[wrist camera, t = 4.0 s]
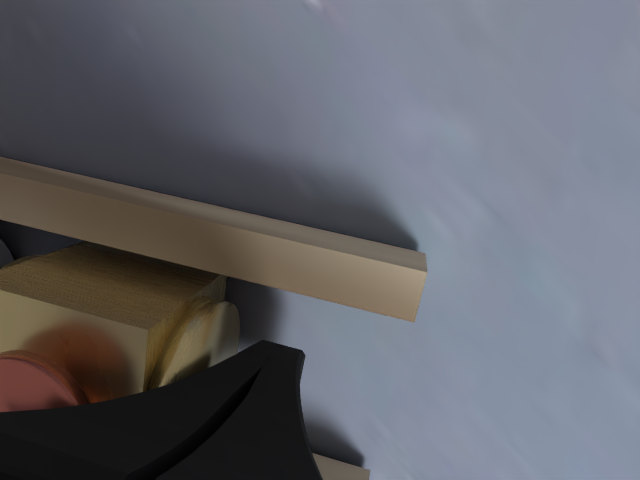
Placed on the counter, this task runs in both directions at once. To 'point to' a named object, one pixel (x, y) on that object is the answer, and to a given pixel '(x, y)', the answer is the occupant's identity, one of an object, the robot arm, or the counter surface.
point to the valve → (106, 326)
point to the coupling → (4, 255)
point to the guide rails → (219, 246)
